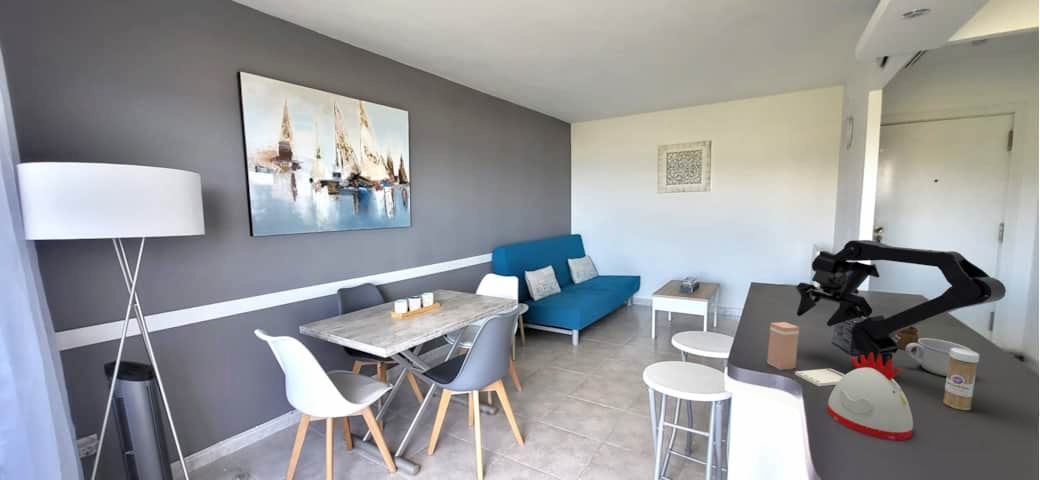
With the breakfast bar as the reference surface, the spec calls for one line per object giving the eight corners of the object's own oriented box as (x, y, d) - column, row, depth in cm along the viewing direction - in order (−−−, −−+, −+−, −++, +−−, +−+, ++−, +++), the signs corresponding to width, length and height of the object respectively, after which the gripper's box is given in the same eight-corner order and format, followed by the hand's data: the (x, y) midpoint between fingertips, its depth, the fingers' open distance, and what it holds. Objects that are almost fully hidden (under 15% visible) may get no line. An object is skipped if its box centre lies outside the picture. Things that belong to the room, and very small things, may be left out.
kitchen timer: (888, 446, 78) (898, 372, 77) (813, 411, 91) (820, 347, 89) (925, 431, 84) (935, 361, 82) (850, 400, 96) (857, 339, 95)
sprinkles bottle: (942, 405, 94) (950, 350, 93) (942, 399, 97) (950, 345, 96) (971, 413, 91) (980, 356, 90) (971, 406, 94) (979, 351, 93)
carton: (781, 362, 118) (785, 322, 117) (795, 368, 114) (799, 327, 112) (766, 363, 117) (770, 322, 116) (780, 369, 112) (784, 328, 111)
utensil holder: (913, 347, 132) (918, 311, 131) (919, 353, 127) (924, 316, 126) (889, 343, 136) (894, 308, 134) (894, 349, 130) (898, 312, 129)
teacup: (956, 368, 116) (960, 341, 115) (979, 384, 106) (983, 355, 105) (893, 359, 122) (896, 333, 121) (909, 373, 112) (913, 345, 111)
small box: (874, 357, 123) (878, 323, 122) (849, 355, 124) (853, 322, 123) (853, 344, 133) (856, 314, 132) (830, 343, 135) (834, 312, 134)
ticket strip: (830, 371, 112) (831, 368, 112) (856, 382, 105) (856, 379, 105) (794, 374, 110) (795, 371, 110) (818, 386, 103) (819, 383, 103)
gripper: (804, 256, 122) (769, 292, 121) (869, 266, 104) (829, 310, 103) (822, 280, 125) (789, 317, 124) (889, 295, 107) (850, 338, 105)
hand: (812, 320), depth 114 cm, fingers open, 9 cm apart
